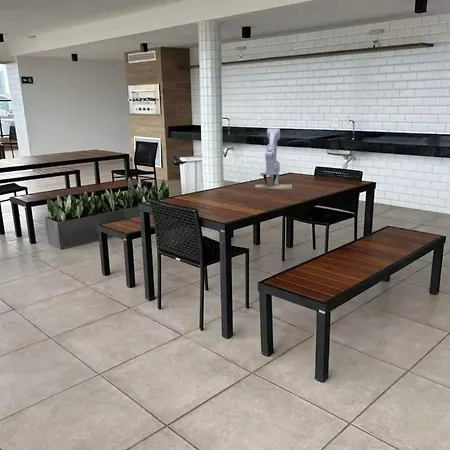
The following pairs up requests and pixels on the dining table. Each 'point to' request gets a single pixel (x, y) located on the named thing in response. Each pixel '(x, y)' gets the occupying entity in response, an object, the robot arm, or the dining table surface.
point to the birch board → (273, 187)
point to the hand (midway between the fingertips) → (269, 184)
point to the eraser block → (269, 181)
